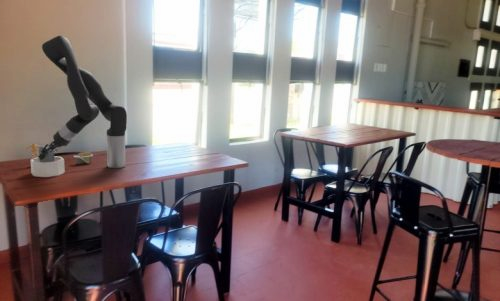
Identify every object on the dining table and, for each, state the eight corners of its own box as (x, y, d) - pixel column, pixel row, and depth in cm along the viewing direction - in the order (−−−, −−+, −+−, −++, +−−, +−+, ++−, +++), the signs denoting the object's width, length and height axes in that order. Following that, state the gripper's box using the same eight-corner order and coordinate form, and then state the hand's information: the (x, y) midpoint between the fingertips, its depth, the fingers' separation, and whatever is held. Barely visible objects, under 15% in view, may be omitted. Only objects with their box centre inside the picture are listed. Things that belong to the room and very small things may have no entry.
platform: (105, 164, 212) (104, 152, 211) (71, 168, 200) (70, 156, 199) (96, 160, 221) (96, 149, 219) (63, 164, 209) (62, 152, 207)
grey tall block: (45, 164, 190) (44, 145, 188) (54, 165, 189) (53, 145, 187) (40, 167, 185) (38, 146, 183) (49, 167, 185) (48, 147, 183)
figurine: (27, 168, 196) (26, 145, 193) (25, 165, 200) (24, 142, 198) (45, 166, 201) (44, 143, 198) (43, 163, 205) (41, 141, 203)
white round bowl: (43, 168, 196) (42, 155, 194) (69, 170, 195) (68, 157, 193) (25, 175, 182) (24, 161, 181) (53, 177, 181) (52, 163, 180)
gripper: (68, 126, 190) (46, 149, 193) (51, 130, 176) (28, 154, 179) (79, 138, 191) (57, 160, 194) (63, 142, 177) (39, 166, 180)
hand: (43, 157), depth 186 cm, fingers closed on grey tall block, 4 cm apart
